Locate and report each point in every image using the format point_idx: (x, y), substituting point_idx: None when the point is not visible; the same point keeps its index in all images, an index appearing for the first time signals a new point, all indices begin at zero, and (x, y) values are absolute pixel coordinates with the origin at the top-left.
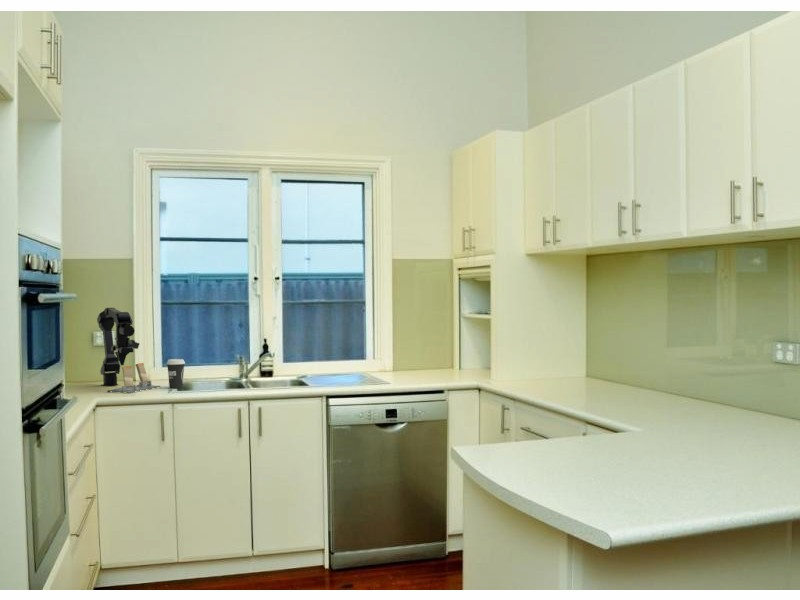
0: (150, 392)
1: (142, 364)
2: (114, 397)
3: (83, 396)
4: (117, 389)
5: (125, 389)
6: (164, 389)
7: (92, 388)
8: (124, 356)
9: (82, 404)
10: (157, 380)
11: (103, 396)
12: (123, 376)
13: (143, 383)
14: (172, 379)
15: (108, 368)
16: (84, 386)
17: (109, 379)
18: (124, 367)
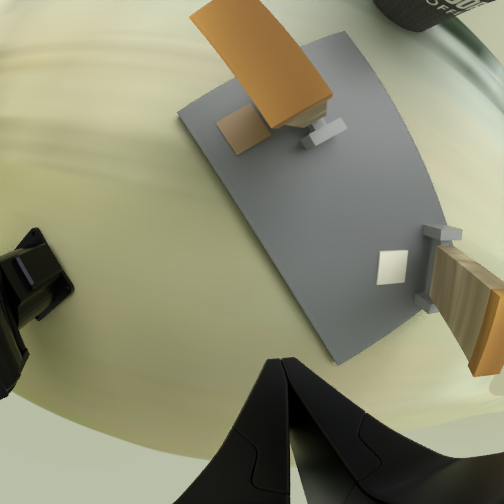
0: (485, 176)
1: (267, 12)
2: None
3: None
4: (340, 313)
5: None
6: (433, 68)
7: (123, 382)
8: (395, 472)
9: (489, 411)
10: (24, 18)
11: (439, 377)
12: (452, 329)
13: (340, 121)
14: (457, 14)
15: (15, 361)
16: (43, 377)
17: (38, 302)
18: (500, 358)
